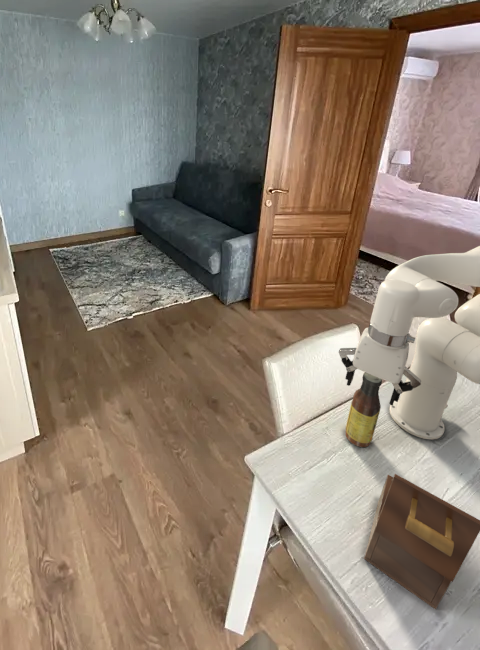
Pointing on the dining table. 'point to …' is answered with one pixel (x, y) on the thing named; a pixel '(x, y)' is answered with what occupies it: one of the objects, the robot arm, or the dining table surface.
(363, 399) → the sauce bottle
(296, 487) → the dining table surface
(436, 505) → the box lid
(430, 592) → the storage box
